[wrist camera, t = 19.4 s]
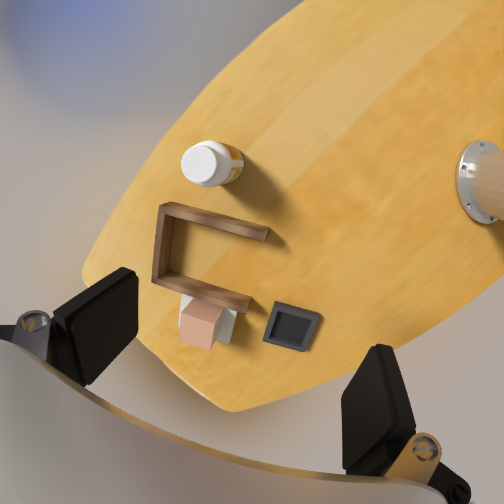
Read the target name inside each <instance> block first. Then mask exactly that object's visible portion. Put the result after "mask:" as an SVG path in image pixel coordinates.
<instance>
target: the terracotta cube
mask: <svg viewBox="0 0 504 504" xmlns="http://www.w3.org/2000/svg"><path fill="white" fill-rule="evenodd" d="M223 313H224V307H221V306H218V305H215V304H212V303H208V302H205V301H202V300H199V299H197V298H193V299H192V300H191V301H190V302H189V304H188V305H187V306H186V307H185V309H184V310H183V311H182V312H181V318H180V329H179V340H181V341H184V342H186V343H189V344H192V345H195V346H198V347H201V348H203V349H206V350H209V351H210V350H211V348H212V346H213V344H214V342H215V340H216V339H217V337H218V335H219V333H220V329H221V324H222V318H223Z"/></svg>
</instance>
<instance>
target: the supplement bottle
mask: <svg viewBox="0 0 504 504" xmlns="http://www.w3.org/2000/svg"><path fill="white" fill-rule="evenodd" d="M243 167H244V160H243V157H242V154H241V153H240V151H239V150H238V149H237V148H235V147H234V146H231V145H229V144H224V143H220V142H216V141H203V142H200V143H198V144H197V145H195V146H193V147H191V148H189V149H188V150H187V151H186V152H185V154H184V155H183V157H182V161H181V168H182V172H183V174H184V175H185V177H186V178H187V179H188V180H190V181H192V182H194V183H195V184H197V185H199V186H202V187H214V186H218V185H222V184H226V183H230V182H232V181H234V180H236V179H237V178H238V177H239V176H240V174H241V173H242V170H243Z"/></svg>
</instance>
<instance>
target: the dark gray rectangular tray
mask: <svg viewBox="0 0 504 504" xmlns="http://www.w3.org/2000/svg"><path fill="white" fill-rule="evenodd" d="M319 318H320V314H319V313H317V312H313V311H309V310H306V309H302V308H299V307H295V306H291V305H288V304H284V303H281V302H277V301H275V303H274V306H273V309H272V312H271V315H270V318H269V321H268V324H267V327H266V331H265V334H264V337H263V340H262V341H264V342H267V343H271V344H275V345H278V346H282V347H286V348H289V349H293V350H297V351H301V352H305V350H306V348H307V346H308V343H309V341H310V339H311V336H312V334H313V332H314V330H315V327H316V325H317V323H318V320H319Z"/></svg>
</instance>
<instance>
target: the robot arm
mask: <svg viewBox="0 0 504 504" xmlns="http://www.w3.org/2000/svg"><path fill="white" fill-rule="evenodd" d="M456 187H457V193H458V197H459V200H460V202H461V205H462V207H463V208H464V210H465V211H466V213H467V214H468V215H469V216H470V217H471V218H472V219H474V220H475V221H478V222H480V223H484V224H491V223H493V222H496V221H497V220H499V219H500V220H503V221H504V151H501V150H500V149H499V148H498V147H497V146H496V145H495V144H493V143H491V142H488V141H474V142H472V143H470V144H469V145H468V146H467V147H466V148H465V149H464V150H463V152H462V153H461V155H460V158H459V160H458V164H457V169H456ZM138 285H139V278H138V276H136V273H135V271H133V270H130V269H127V268H125V267H121V268H119V269H117V270H116V271H114V272H112V273H111V274H109V275H108V276H106V277H105V278H103V279H101V280H100V281H98V282H97V283H95V284H94V285H92V286H90V287H89V288H87V289H86V290H84V291H83V292H81V293H80V294H78V295H77V296H75V297H74V298H72V299H71V300H69V301H68V302H66V303H65V304H63V305H62V306H60V307H59V308H57V309H56V310H55V311H53V314H54V317H53V318H50V316H49V315H48V314H47V313H45V312H43V311H39V310H32V311H28V312H26V313H24V314H22V315H21V316H20V317H19V319H18V320H17V323H16V325H0V504H475V503H474V502H471V503H470V498H471V489H470V486H469V485H468V483H467V482H466V481H465V480H464V479H462V478H461V477H460V476H458V475H457V474H456V473H454V472H453V471H452V470H450V469H449V468H448V467H447V466H445V465H444V464H442V463H441V462H440V458H441V455H442V449H441V446H440V444H439V442H438V441H437V439H436V438H434V437H433V436H432V435H430V434H428V433H417V434H416V430H415V428H416V424H415V420H414V416H413V412H412V409H411V405H410V401H409V398H408V395H407V391H406V388H405V385H404V382H403V378H402V375H401V372H400V369H399V366H398V363H397V360H396V357H395V354H394V351H393V348H392V347H391V346H388V345H383V344H377V345H375V346H372V347H371V348H370V349H369V351H368V353H367V355H366V356H365V358H364V360H363V362H362V363H361V365H360V367H359V368H358V370H357V372H356V373H355V375H354V377H353V378H352V380H351V381H350V383H349V384H348V386H347V387H346V389H345V390H344V392H343V394H342V397H341V408H342V409H341V410H342V445H343V446H342V453H343V455H342V459H343V460H342V462H343V463H342V464H343V465H342V466H343V469H344V470H346V475H341V474H331V473H323V472H315V471H307V470H300V469H294V468H288V467H282V466H277V465H272V464H268V463H263V462H259V461H255V460H251V459H247V458H243V457H239V456H236V455H232V454H229V453H225V452H222V451H219V450H216V449H213V448H210V447H207V446H204V445H201V444H198V443H195V442H193V441H190V440H187V439H185V438H182V437H179V436H177V435H174V434H172V433H170V432H167V431H165V430H163V429H160V428H158V427H156V426H154V425H152V424H149V423H147V422H145V421H143V420H141V419H139V418H137V417H135V416H133V415H130V414H129V413H127V412H125V411H123V410H121V409H120V408H118V407H116V406H114V405H112V404H110V403H109V402H107V401H105V400H104V399H102V398H100V397H98V396H97V395H95V394H94V393H92V392H90V391H88V390H87V389H85V388H84V387H85V386H86V385H90V384H92V383H93V382H94V380H95V379H96V378H97V377H98V376H99V375H100V374H101V373H102V372H103V371H104V370H105V369H106V368H107V366H108V365H109V364H110V363H111V362H112V361H113V360H114V359H115V358H116V357H117V356H118V355H119V354H120V353H121V351H122V350H123V349H124V348H125V347H126V346H127V345H128V344H129V343H130V342H131V341H132V340H133V339H134V338H135V337H136V335H137V333H138Z"/></svg>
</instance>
